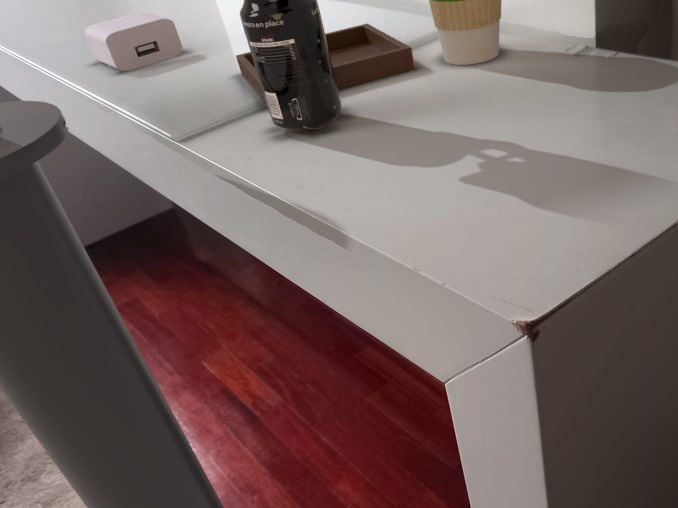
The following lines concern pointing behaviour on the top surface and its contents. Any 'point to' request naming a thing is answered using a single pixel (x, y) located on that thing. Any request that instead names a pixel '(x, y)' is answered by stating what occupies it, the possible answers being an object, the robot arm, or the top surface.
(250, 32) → the beverage can
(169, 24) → the charger
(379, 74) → the holder
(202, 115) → the top surface
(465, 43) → the coffee cup
